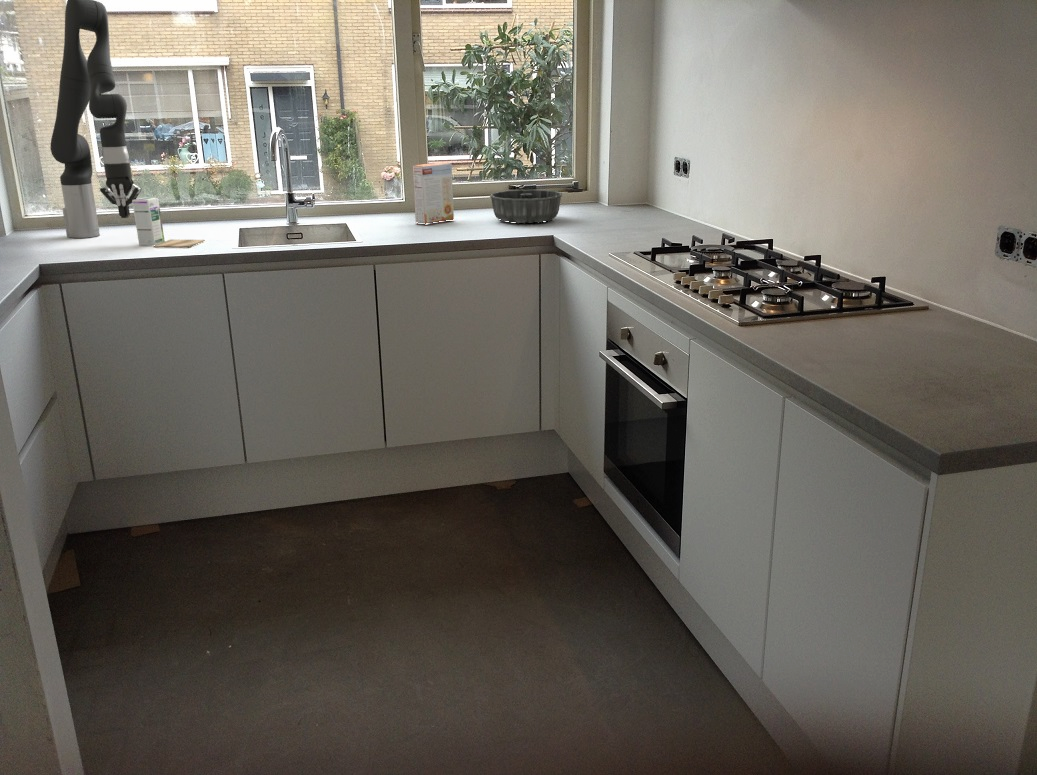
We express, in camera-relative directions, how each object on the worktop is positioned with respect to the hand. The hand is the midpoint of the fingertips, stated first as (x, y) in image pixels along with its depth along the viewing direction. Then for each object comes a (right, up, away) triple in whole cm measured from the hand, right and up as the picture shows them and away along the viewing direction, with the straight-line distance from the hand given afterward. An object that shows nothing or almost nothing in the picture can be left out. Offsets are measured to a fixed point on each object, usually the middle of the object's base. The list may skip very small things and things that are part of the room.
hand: (125, 217), depth 286 cm
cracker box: (+94, +6, +42) cm, 103 cm away
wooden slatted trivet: (+17, -8, +1) cm, 19 cm away
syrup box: (+8, -8, +2) cm, 11 cm away
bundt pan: (+128, +7, +45) cm, 136 cm away
